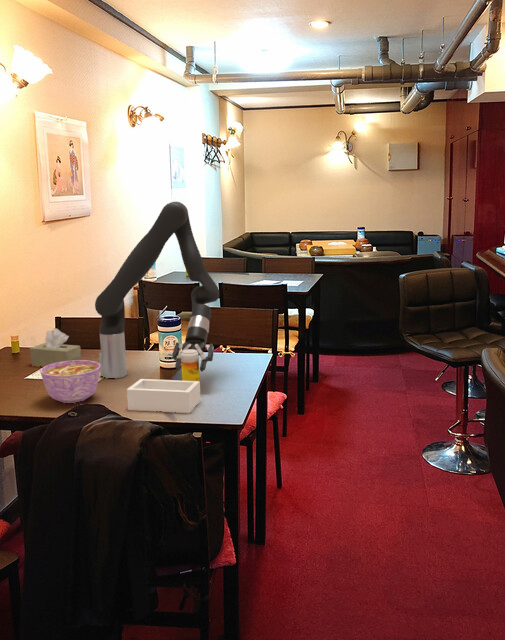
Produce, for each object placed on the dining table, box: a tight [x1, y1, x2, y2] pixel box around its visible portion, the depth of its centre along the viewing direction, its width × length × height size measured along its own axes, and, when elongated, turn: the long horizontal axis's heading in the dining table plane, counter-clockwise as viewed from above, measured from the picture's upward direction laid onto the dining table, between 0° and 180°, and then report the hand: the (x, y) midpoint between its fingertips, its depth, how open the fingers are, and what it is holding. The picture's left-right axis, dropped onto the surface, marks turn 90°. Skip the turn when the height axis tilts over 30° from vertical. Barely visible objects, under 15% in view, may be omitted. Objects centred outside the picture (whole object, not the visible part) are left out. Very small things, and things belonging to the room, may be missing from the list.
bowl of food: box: [39, 359, 101, 404], centre depth 218 cm, size 20×20×12 cm
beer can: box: [181, 349, 200, 381], centre depth 224 cm, size 6×6×15 cm
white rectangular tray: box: [126, 378, 201, 414], centre depth 211 cm, size 21×12×7 cm, turn 78°
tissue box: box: [29, 328, 82, 366], centre depth 263 cm, size 19×10×16 cm, turn 68°
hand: (189, 370), depth 222 cm, fingers open, 8 cm apart
